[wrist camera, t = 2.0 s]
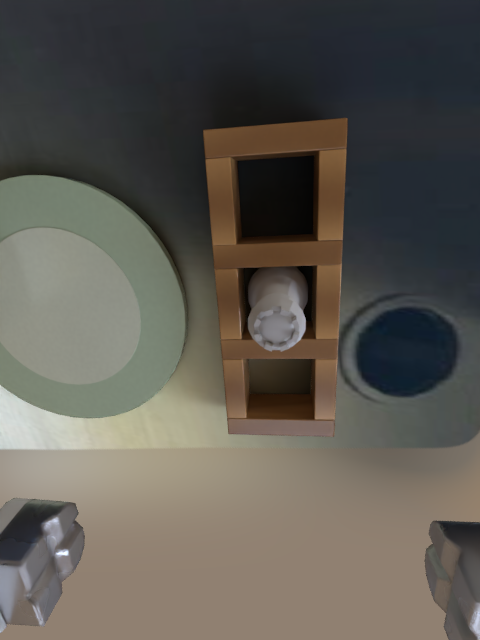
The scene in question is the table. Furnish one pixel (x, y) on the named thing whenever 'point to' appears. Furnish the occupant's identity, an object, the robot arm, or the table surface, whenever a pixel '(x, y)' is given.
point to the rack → (278, 251)
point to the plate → (84, 300)
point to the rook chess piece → (277, 307)
